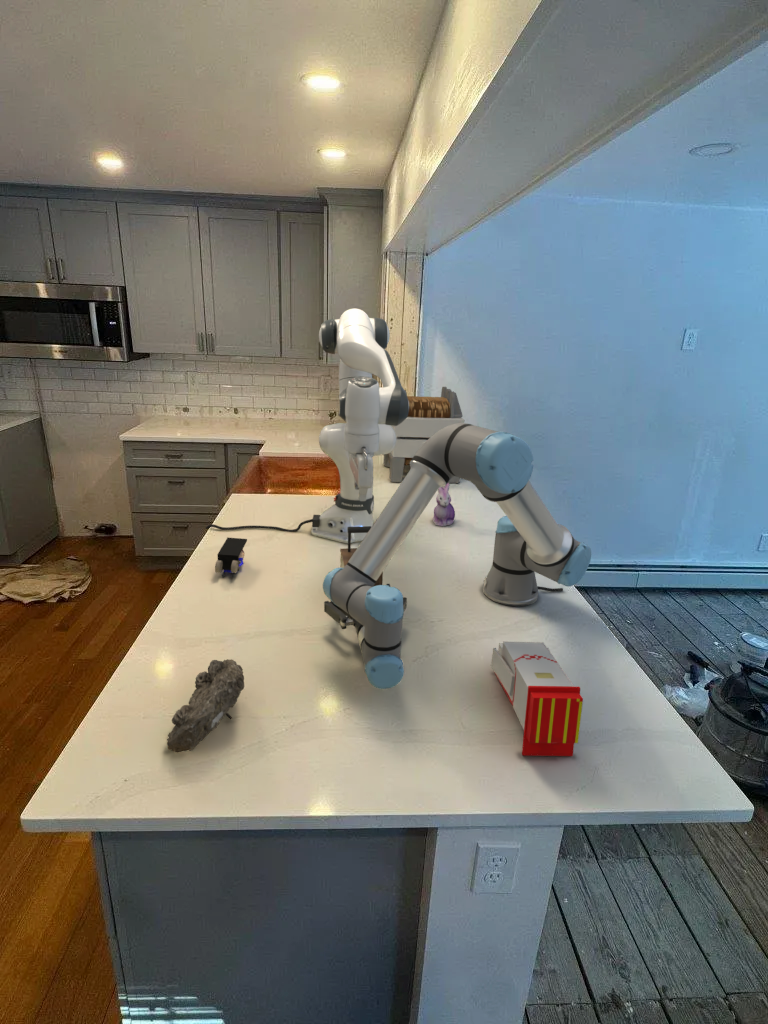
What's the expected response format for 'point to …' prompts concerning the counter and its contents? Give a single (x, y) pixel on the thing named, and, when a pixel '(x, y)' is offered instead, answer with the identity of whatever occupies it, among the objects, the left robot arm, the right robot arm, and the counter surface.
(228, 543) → the black wheeled toy vehicle
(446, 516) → the figurine
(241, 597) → the counter surface
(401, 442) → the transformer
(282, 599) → the counter surface
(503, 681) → the toy
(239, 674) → the fossil
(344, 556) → the lid
